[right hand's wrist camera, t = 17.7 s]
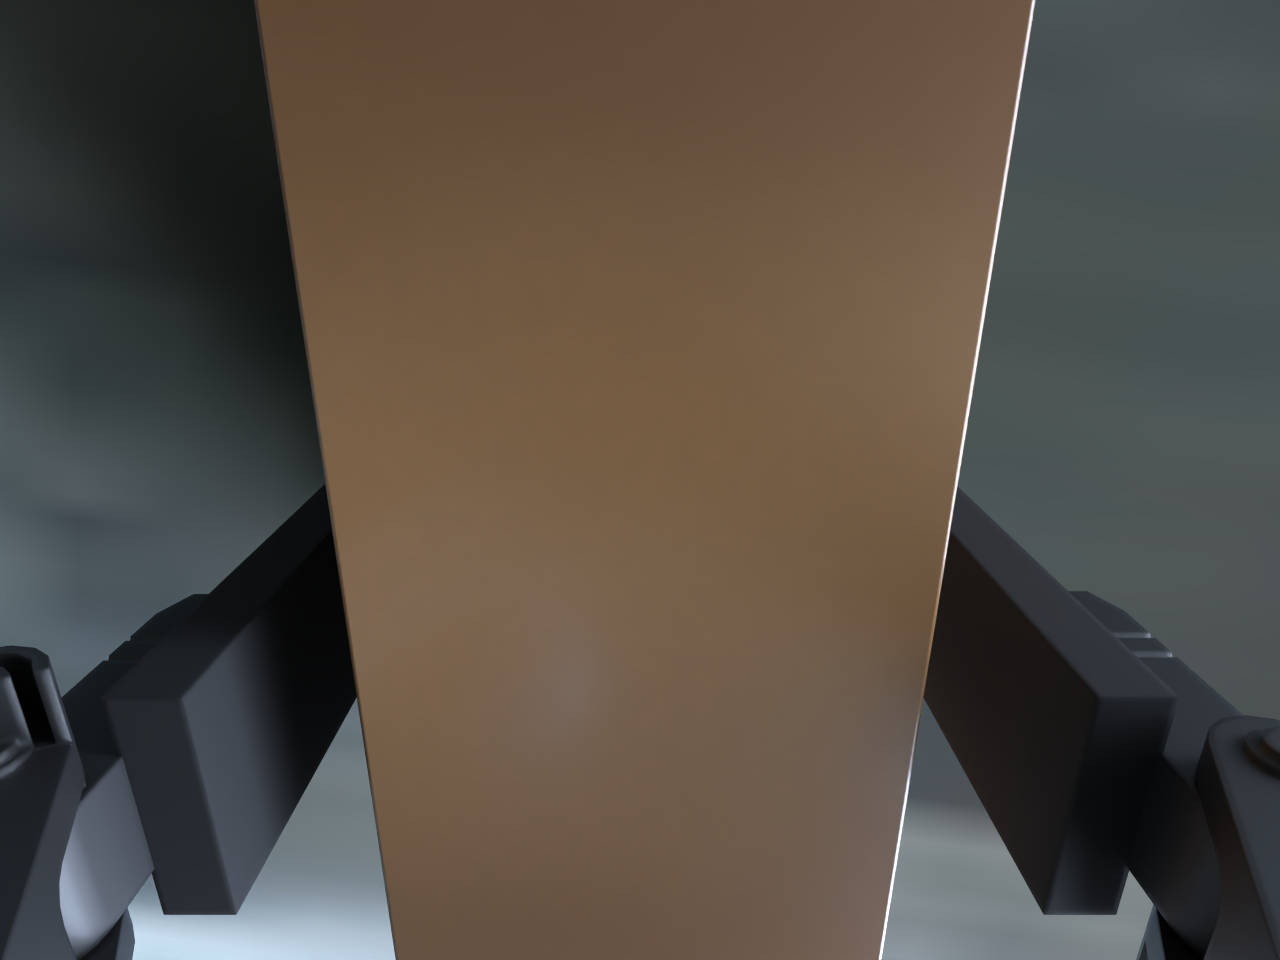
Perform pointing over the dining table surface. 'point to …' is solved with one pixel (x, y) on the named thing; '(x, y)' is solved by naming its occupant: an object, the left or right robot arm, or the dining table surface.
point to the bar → (641, 442)
